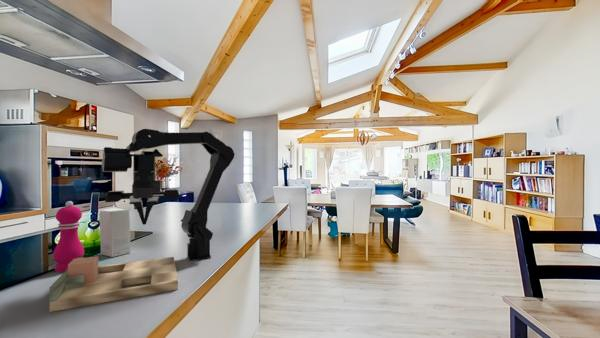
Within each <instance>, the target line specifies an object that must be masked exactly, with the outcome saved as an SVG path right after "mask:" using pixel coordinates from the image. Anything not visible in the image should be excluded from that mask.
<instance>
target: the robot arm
mask: <svg viewBox="0 0 600 338" xmlns="http://www.w3.org/2000/svg"><path fill="white" fill-rule="evenodd" d="M199 144H200V145H201V146H202V147H203V149H205V151H206V152H207V153H208V154H209V155H210V159H209V170H208V173H207V175H206V177H205V178H204V179H205V180H204V182H203V183H202V187H201V189H200V191H199V195H197V198H196V201H195V204H194V206H193V207H192V208H191V209H190V210H189V209H186V210H185V211H184V214H183V216H182V219H181V220H180V222H181V225H180V226H181V229H182V231H183V232H184V233H186V236H187V238H189V239H188V243H187V244H186V247H187V248H186V256H187V258H188V259H189V260H190V261H198V260H205V259H211V258H212V255H211V243H210V242H211V240H212V238H213V235H214V232H212V231H211V230H210V229H208V228H207V224H208V220H209V219H208V211H209V208H210V205H211V203H212V200H213V197H214V196H215V193H216V190H217V188H218V185H219V184H220V180H221V179H222V178H221V177H222V176H223V174H224V172H225V171H226V170H227V168H228V167H230V165H231V163H232V162H233V160H234V158H235V156H236V155H235V154H236V153H235V152H234V151H235V150H234V149H233V148H232V147H231V146H229V145H226V144H225V142H223V141H222V140H220V139H218V138H217V137H215V135H213V134H212V133H211V132H210V131H203V132H202V131H199V132H197V131H196V132H193V131H192V132H166V131H161V130H157V129H156V130H155V129H150V128H142V129H140V130H138V131H137V132H135V133H134V134H133V135H132V137H131V142H130V143H129V145H127V146H126V148H116V147H115V148H114V147H107V146H105V147H103V152H102V159H101V170H102V172H103V173H125V172H126V173H127V172H128V170H129V169H132V166H133V172H132V175H133V177H132V180H133V181H132V185H131V186H132V187H131V189H132V190H131V192H125V191H124V190H110V191H108V192H106V193H105V194H104V201H105V203H115V202H116V203H118V202H119V201H122V200H129V205H133V206H134V207H135V209H136V210H137V213H138V216H139V218H140V221H141V224H142V225H147V221H148V219H149V215H150V213H151V211H152V209H153V206H154V204H158V203H159V198H165V199H167V200H179V199H180V191H179V190H178V189H177V188H172V189H171V188H169V189H168V188H166V189H164V191H161V180H156V158H161V157H163V156H164V155H163V154H162V153H161V152H160V151H159V150H158V149H157V148H160V147H164V146H170V145H171V146H172V145H173V146H174V145H175V146H176V145H199ZM154 148H155V149H154ZM149 149H153V150H152V151H149ZM140 150H143V151H141V153H138V154H137V153H136V152H138V151H140ZM147 150H148V151H147ZM132 164H133V165H132ZM142 199H147V201H146V206H145V211H144V206H143V205H144V204H143V200H142Z"/></svg>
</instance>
